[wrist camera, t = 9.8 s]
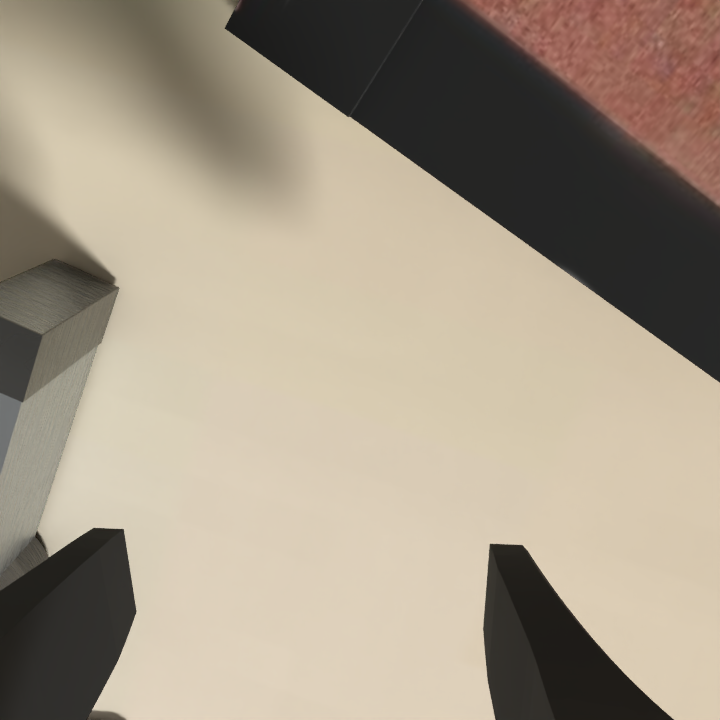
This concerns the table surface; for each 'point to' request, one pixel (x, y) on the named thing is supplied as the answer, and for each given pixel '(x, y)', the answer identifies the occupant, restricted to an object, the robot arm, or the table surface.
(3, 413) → the crank
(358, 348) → the table surface
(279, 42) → the book
